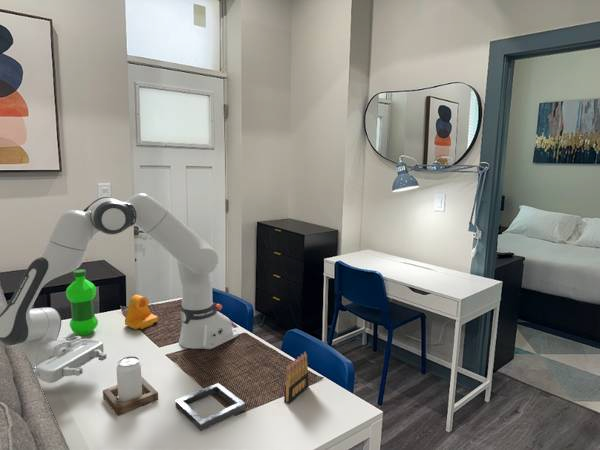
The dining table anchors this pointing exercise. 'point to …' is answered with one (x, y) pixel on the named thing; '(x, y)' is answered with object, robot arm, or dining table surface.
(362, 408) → the dining table surface
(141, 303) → the orange figurine
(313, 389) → the dining table surface
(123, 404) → the wooden square frame
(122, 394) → the can
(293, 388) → the ammunition clip
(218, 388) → the dark grey square frame
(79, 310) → the plastic bottle
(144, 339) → the dining table surface
